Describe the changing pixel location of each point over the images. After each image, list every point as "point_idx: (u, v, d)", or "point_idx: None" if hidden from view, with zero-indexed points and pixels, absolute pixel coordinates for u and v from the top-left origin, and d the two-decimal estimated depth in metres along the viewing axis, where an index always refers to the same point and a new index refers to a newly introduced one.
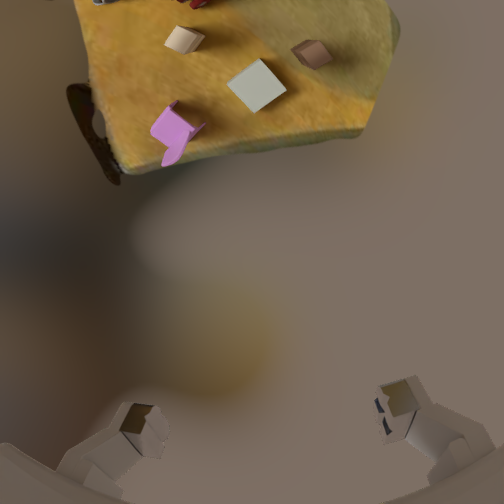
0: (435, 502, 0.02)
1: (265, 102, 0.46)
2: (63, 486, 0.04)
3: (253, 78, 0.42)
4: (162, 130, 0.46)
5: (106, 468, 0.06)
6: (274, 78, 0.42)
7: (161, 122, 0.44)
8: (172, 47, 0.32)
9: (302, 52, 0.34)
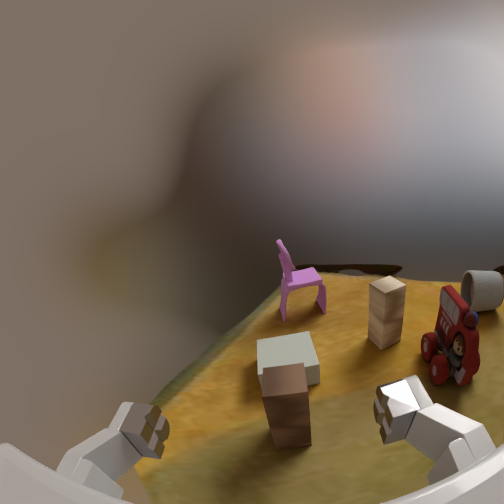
0: (435, 502, 0.02)
1: (260, 351, 0.37)
2: (63, 486, 0.04)
3: (298, 351, 0.35)
4: (308, 272, 0.52)
5: (106, 468, 0.06)
6: None
7: (315, 274, 0.51)
8: (382, 279, 0.37)
9: (300, 364, 0.24)
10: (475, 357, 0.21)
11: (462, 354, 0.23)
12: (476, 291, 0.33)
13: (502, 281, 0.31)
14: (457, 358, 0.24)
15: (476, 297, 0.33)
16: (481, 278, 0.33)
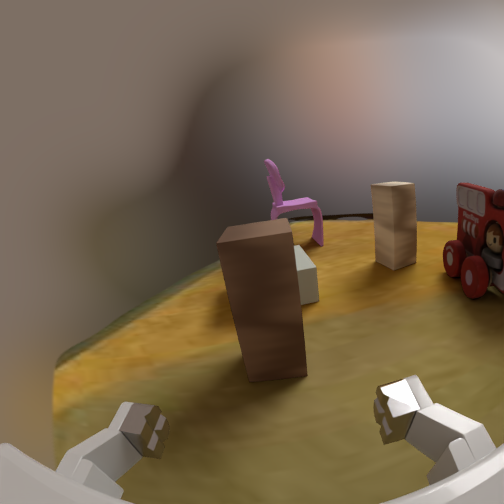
0: (435, 502, 0.02)
1: None
2: (63, 486, 0.04)
3: None
4: (301, 200, 0.45)
5: (106, 468, 0.06)
6: None
7: (309, 200, 0.44)
8: None
9: (282, 219, 0.17)
10: None
11: (501, 248, 0.16)
12: None
13: None
14: (495, 256, 0.17)
15: None
16: None
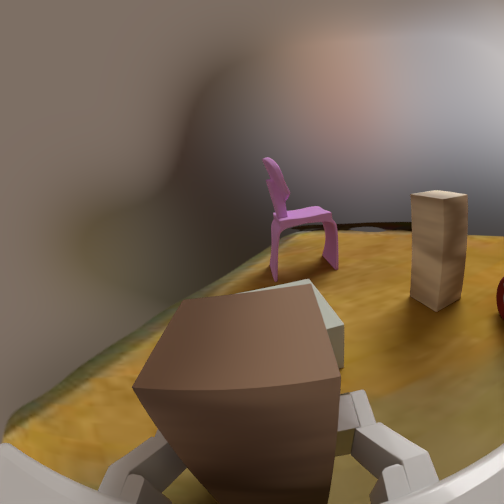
0: (435, 502, 0.02)
1: None
2: (63, 486, 0.04)
3: None
4: (310, 210, 0.35)
5: (153, 480, 0.06)
6: None
7: (321, 210, 0.34)
8: (428, 191, 0.21)
9: (302, 288, 0.08)
10: None
11: None
12: None
13: None
14: None
15: None
16: None
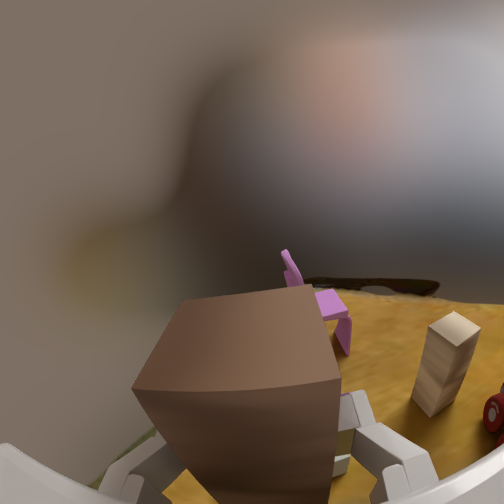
0: (435, 502, 0.02)
1: None
2: (63, 486, 0.04)
3: None
4: (326, 298, 0.35)
5: (153, 480, 0.06)
6: None
7: (337, 300, 0.34)
8: (445, 317, 0.20)
9: (302, 289, 0.08)
10: None
11: None
12: None
13: None
14: None
15: None
16: None
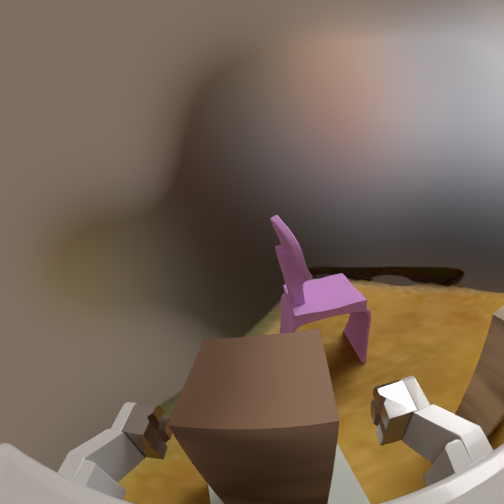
0: (435, 502, 0.02)
1: (217, 496, 0.10)
2: (63, 486, 0.04)
3: None
4: (334, 284, 0.25)
5: (108, 469, 0.06)
6: None
7: (350, 287, 0.24)
8: None
9: (311, 334, 0.08)
10: None
11: None
12: None
13: None
14: None
15: None
16: None
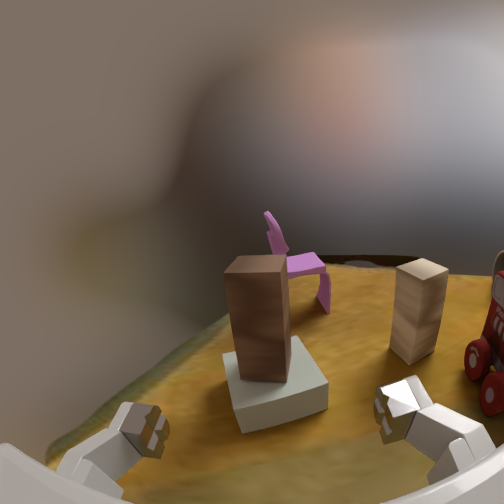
0: (435, 502, 0.02)
1: (230, 372, 0.23)
2: (63, 486, 0.04)
3: (290, 366, 0.23)
4: (306, 258, 0.39)
5: (106, 468, 0.06)
6: (273, 396, 0.19)
7: (316, 259, 0.38)
8: (414, 262, 0.24)
9: (282, 255, 0.22)
10: None
11: None
12: None
13: None
14: None
15: None
16: None
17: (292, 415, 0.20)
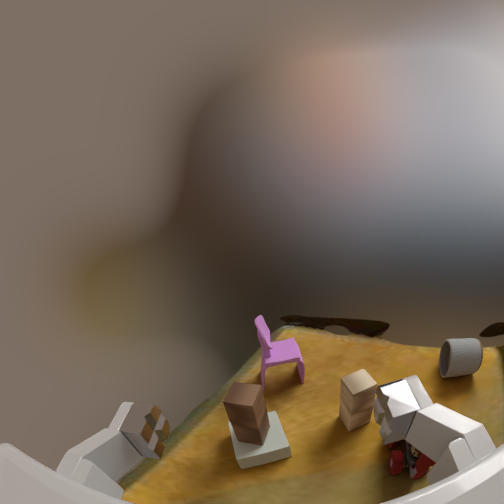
0: (435, 502, 0.02)
1: (233, 435, 0.35)
2: (63, 486, 0.04)
3: (269, 433, 0.34)
4: (287, 345, 0.50)
5: (106, 468, 0.06)
6: (257, 452, 0.31)
7: (294, 348, 0.49)
8: (355, 373, 0.35)
9: (258, 386, 0.33)
10: (427, 464, 0.19)
11: (417, 456, 0.22)
12: (452, 363, 0.34)
13: (480, 351, 0.33)
14: (413, 458, 0.22)
15: (452, 368, 0.34)
16: (459, 350, 0.35)
17: (269, 460, 0.32)
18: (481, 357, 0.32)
